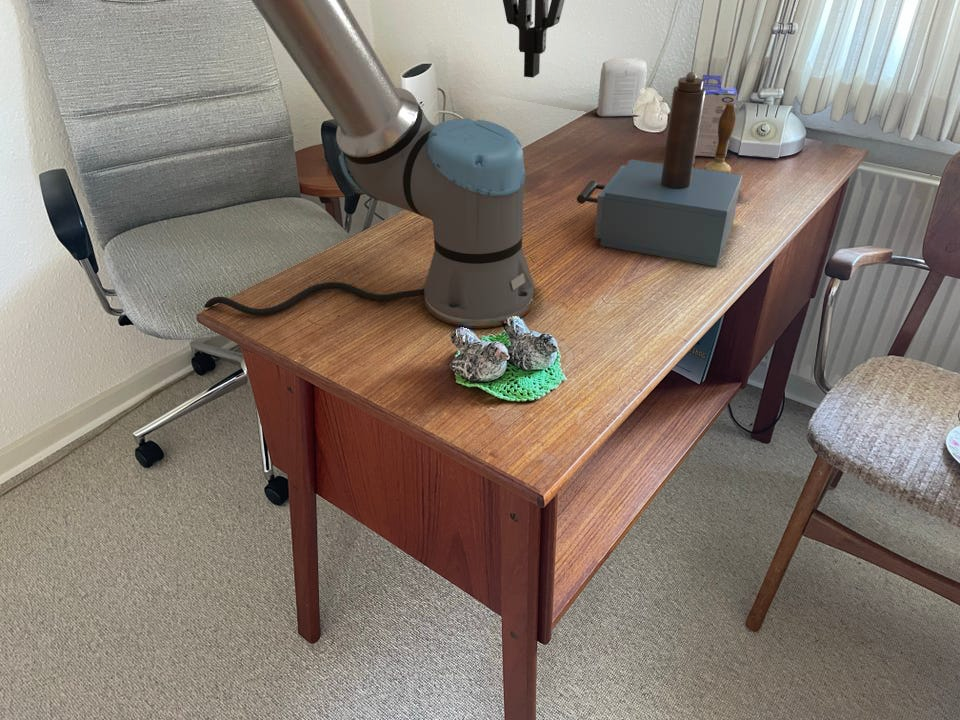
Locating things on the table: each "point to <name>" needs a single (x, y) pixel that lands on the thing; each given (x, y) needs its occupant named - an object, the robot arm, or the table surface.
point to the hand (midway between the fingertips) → (531, 74)
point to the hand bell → (723, 139)
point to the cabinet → (670, 213)
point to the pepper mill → (683, 132)
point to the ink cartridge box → (712, 115)
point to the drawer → (597, 199)
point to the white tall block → (620, 86)
